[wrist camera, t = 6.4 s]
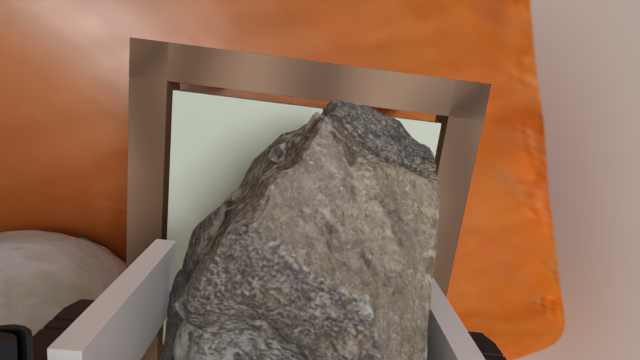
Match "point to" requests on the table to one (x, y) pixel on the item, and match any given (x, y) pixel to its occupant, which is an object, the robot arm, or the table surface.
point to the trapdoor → (230, 151)
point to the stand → (295, 81)
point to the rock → (315, 250)
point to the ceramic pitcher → (50, 275)
